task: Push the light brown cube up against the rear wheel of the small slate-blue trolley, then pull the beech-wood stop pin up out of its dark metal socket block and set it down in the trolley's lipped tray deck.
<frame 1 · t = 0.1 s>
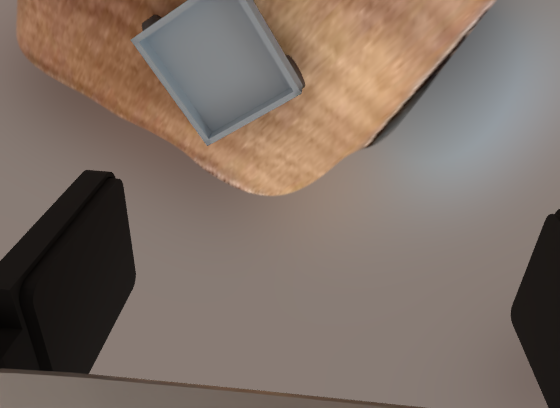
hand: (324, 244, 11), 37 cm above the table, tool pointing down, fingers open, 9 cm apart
trolley: (228, 50, 46), on the table
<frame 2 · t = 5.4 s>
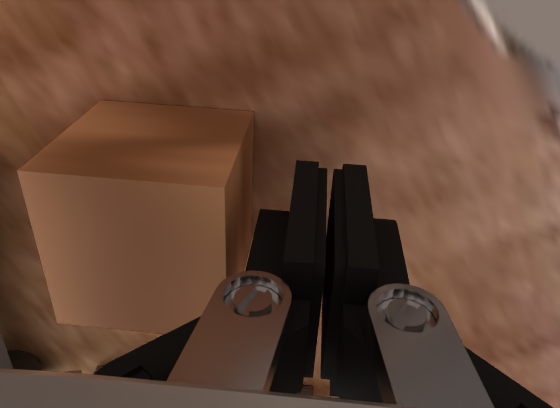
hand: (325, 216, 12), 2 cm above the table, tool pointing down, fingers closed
light brown cube: (181, 174, 14), on the table, touching gripper
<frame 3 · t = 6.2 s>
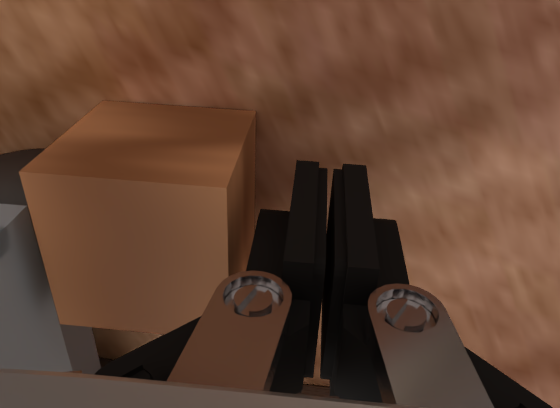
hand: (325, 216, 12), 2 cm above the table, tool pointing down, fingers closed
light brown cube: (183, 174, 14), on the table, touching gripper, trolley
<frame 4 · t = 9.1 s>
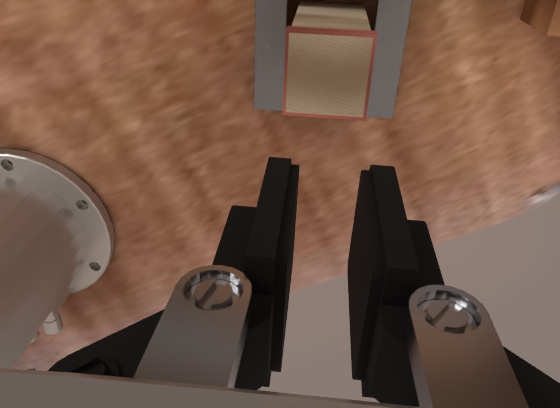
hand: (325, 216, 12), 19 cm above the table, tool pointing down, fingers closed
stop pin: (328, 52, 25), in the socket block
socket block: (329, 34, 28), on the table
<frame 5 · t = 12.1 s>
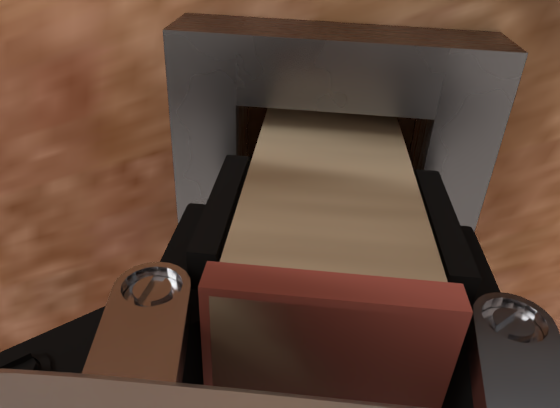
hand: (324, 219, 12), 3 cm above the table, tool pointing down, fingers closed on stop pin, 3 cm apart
stop pin: (324, 242, 11), in the socket block, touching gripper
socket block: (326, 163, 15), on the table
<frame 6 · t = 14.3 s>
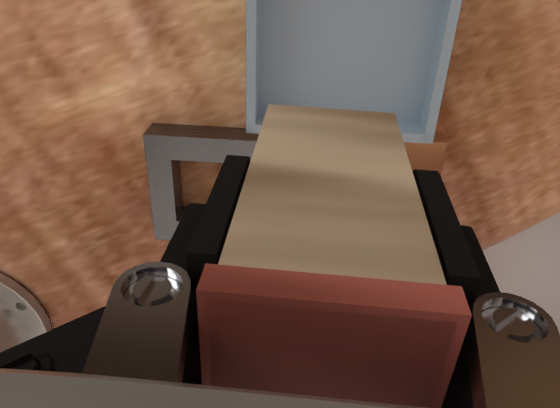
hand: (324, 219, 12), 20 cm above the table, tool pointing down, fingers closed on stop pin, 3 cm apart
stop pin: (323, 243, 11), point 21 cm above the table, touching gripper
light brown cube: (396, 145, 33), on the table
socket block: (213, 180, 35), on the table
trolley: (344, 12, 28), on the table
when the fingers open (8 cm above the table, at t = 16.8 s): stop pin drops 1 cm, resting on trolley.
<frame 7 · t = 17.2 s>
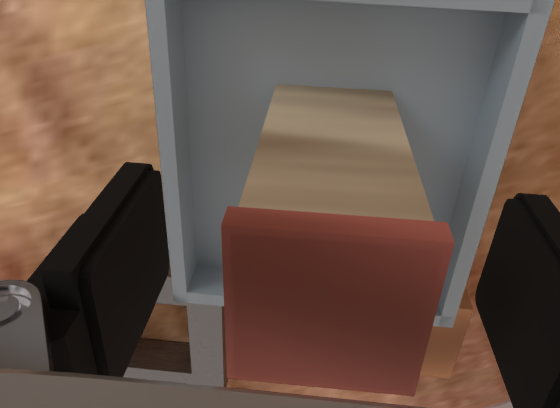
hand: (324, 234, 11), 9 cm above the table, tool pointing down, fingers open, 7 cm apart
stop pin: (328, 205, 12), in the trolley, point 8 cm above the table
light brown cube: (400, 278, 24), on the table
socket block: (154, 308, 26), on the table
trolley: (326, 112, 20), on the table
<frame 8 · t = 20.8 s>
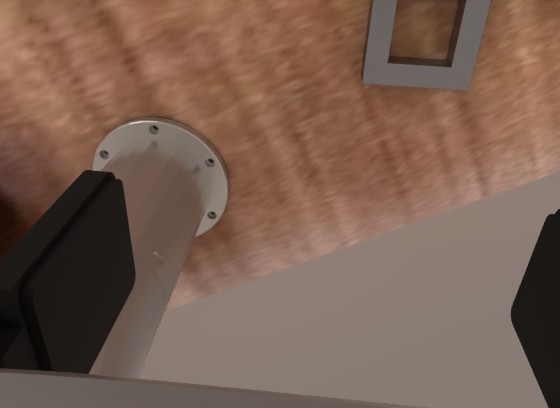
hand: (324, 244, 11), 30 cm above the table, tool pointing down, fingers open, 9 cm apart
socket block: (421, 26, 37), on the table
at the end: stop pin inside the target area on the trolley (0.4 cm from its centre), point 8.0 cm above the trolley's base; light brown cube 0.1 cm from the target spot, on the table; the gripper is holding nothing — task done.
